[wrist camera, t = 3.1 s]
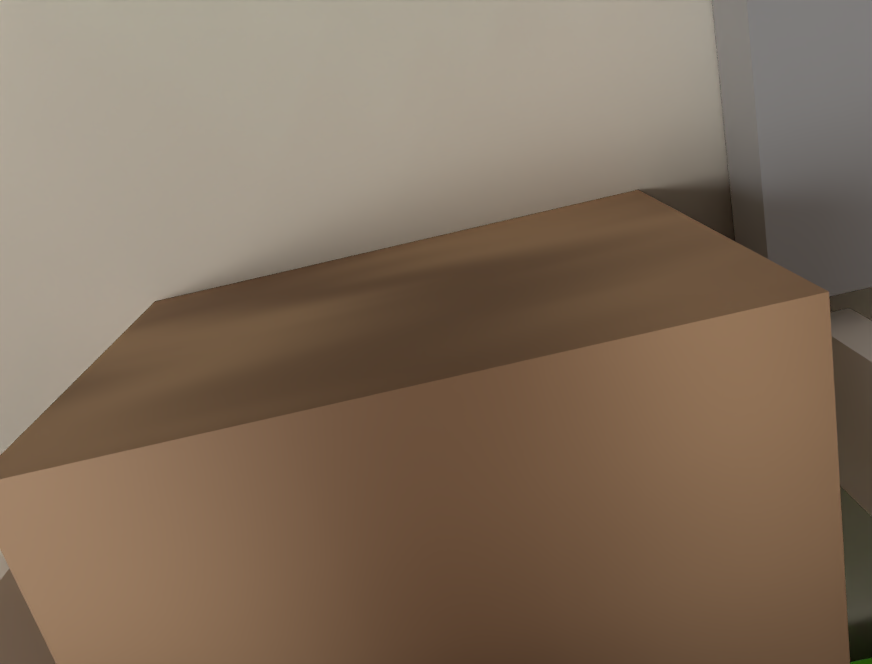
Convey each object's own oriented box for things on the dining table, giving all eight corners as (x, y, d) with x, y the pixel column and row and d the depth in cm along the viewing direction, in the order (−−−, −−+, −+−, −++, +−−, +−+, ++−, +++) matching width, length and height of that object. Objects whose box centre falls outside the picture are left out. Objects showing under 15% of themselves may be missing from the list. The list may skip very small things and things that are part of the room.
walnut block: (293, 674, 15) (233, 1028, 10) (157, 299, 13) (-32, 486, 7) (690, 588, 15) (862, 900, 10) (635, 187, 13) (828, 291, 7)
